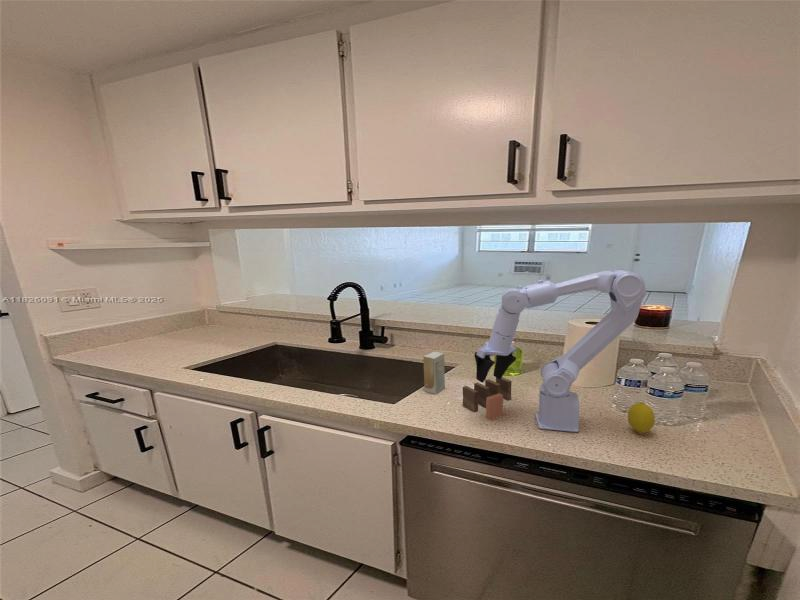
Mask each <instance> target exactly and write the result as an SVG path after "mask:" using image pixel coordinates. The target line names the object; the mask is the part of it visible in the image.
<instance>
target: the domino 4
mask: <svg viewBox="0 0 800 600" xmlns="http://www.w3.org/2000/svg"><path fill="white" fill-rule="evenodd" d="M485 410H486V411H485V418H486V419H487V420H489V421H491V420H494V419H497V418H499V417H502V416H503V415H504V399H503V395H502V394H500V393H499V394H496V395H493V396H490V397H487V398H486V408H485Z"/></svg>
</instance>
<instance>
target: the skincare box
mask: <svg viewBox="0 0 800 600" xmlns="http://www.w3.org/2000/svg"><path fill="white" fill-rule="evenodd" d="M445 375H446V374H445V353H444V352H439V351H432V352H430V353H426V354H425V355H423V380H424V381H423V383H424V384H423V385H424V386H423V387H424V388H423V389H424V392H425V393H429V394H433V395H436V394H438V393H440V392H441V391H443V390H444V389H445V388H446V380H445V377H446V376H445Z"/></svg>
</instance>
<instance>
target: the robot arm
mask: <svg viewBox="0 0 800 600" xmlns="http://www.w3.org/2000/svg"><path fill="white" fill-rule="evenodd" d="M646 289H647V288H646V284H645V279H644V278H643V277H642V276H641V275H640V274H638V273H636V272H632V271H628V270H626V269H624V268H615V269H612V270H602V271H598V272H594V273H589V274H587V275H586V274H585V275H583V276H579V277H576V278H571V279H569V280H566V281H562V282H561V281H560V282H558V283H557V282H556V283H554V282H551V281H550V280H544V279H539V280H537V282H536V283H534V284H533V283H532V284H529V285H524V286H523V285H518V288H514V287H513V288H508V289H507V290H505V292H503V294H502V296H501V305H500V307H499V308H498V313H497V314H496V317H495V319H494V323H493V326H492V331H491V334H490V337H489V339H488V341H485V342H484V346H482V347H480V348H479V347H478V349H477V351H475V352H474V355H473V356H474V360H475V364H476V365H475V366H476V377H475V379H476V380H478V381H479V383H480V382H481V383H485V380H487V379H486V378H487V377H488V374H489V371H490V370H491V368H492V367H493V366H494V365H495V366H494V370H493V376H494V378H495V379H496V378H498V379H501V378H502V377H503V376H504V375H505V373H506V371H507V370H508V369H509V368H510V366H511V365H512V364H514V362H516V360H517V357H516V356H515V354H516V352H517V347H515V346H513V345H512V344H513V341H514V337H515V335H516V334H515V333H516V331H517V328H518V325H519V322H520V315H521V313H522V312H523V311H524V310H525V308H527V309H531V308H535V307H540V306H541V307H542V306H545V305H549V304H554V303H555V302H556V300H557V299H558V297H561V296H566V295H572V294H576V293H577V294H578V293H582V292H583V293H584V292H588V291H594V290H595V291H599V292H601V293H606V294H608V296H609V298H610V308H611V310H609V312H608V313H607V314H606V315H605V316H603V318H601V319H600V321H598V322H597V323H596V324H595V325H594V326H593V327H592V328H591V329H590V330H589V331H587V333H586V334H584V335H583V336H582V337H581V338H580V339H579V340H578V341H577V342H576V343H575V344H574V345H573V346H572V347H570V348H569V349H568V350H567V351H566V352H565V353H564V354H560V355H558V356H556V358H555V359H553V360H550V361H547V362H546V363H544V364H543V365H542V366H541V369H540V376H541V378H542V383H541V385H540V386H539V394H538V397H539V398H538V399H539V400H538V412H535V418H536V423H537V427H538V429H541V430H550V431H551V430H552V431H559V432H561V431H562V432H572V433H573V432H574V433H579V430H580V429H579V422H580V420H579V419H580V400H579V394H578V393H577V392H575V391H570V390H571V387H572V385H573V383H574V382H575V381H577V378H578V376H579V373H580V372H581V370H582V369H583V368H584V367H585V366H586V365H587V364H588V363H590V362H591V361H592V360H593V359H594V358H596V356H597V355H599V353H601V352H602V351H603V350H604V349H605V348H606V347H608V346H609V345H610V344H611V343H612V342H613V341H614V340H615V339H616V338H617V337H619V336H620V335H621V334H622V333H623V332H624V331H625V330H626V329H627V328H629V327H630V326H631V325H632V324H633V323H634V322H635V321H636V320H637V319H638V316H639V313H640V310H641V307H642V302H643V300H644V298H645V296H647V290H646ZM494 356H495V361H494V360H493V359H491V357H494Z"/></svg>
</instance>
